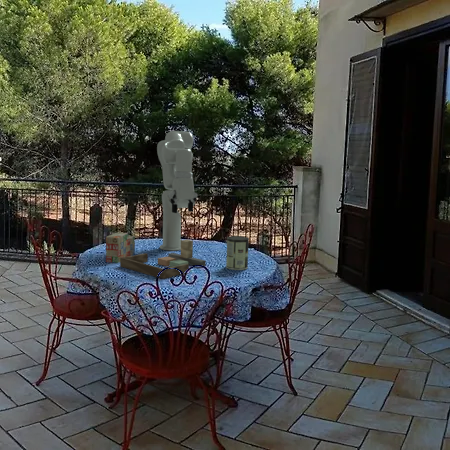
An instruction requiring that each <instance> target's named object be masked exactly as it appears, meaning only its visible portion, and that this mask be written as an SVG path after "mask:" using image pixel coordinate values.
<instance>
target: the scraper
mask: <svg viewBox="0 0 450 450" xmlns="http://www.w3.org/2000/svg"><path fill="white" fill-rule="evenodd" d="M193 249H194V241H193V240H191V239H181V250H180V254H179V253H176V252H170V253H168V254H167V255H168V256H167V257H171V258H175V259H176V260H178V259H179V260H184V261H188V264H189V266H190V265H191V266H193V265H203V266H205V267H206V266H207V265H206V262H207V260H204V259H201V258H200V259H199V258H197V257H196V258H195V257H193V254H194V251H193Z"/></svg>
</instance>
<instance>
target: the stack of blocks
mask: <svg viewBox="0 0 450 450" xmlns="http://www.w3.org/2000/svg"><path fill="white" fill-rule="evenodd" d="M135 238H136V237H135V235H129V233H128V232H114V233H112V234H110V235H107V236H106V237H105V262H106V263H113V262H115V263H114V264H120V258H123V257H128V256H134V255H135V254H136V253H135V252H136V241H135V240H136V239H135Z"/></svg>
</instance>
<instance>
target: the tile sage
mask: <svg viewBox="0 0 450 450" xmlns="http://www.w3.org/2000/svg"><path fill="white" fill-rule="evenodd" d="M183 264H188V261H184V260H179V259H178V260H174V261H170V266H169V267H174V266H178V265H183Z"/></svg>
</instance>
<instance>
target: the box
mask: <svg viewBox="0 0 450 450" xmlns="http://www.w3.org/2000/svg"><path fill="white" fill-rule="evenodd" d="M148 257H149V254H148V253H146V252H145V253H139V254H136V255H135V254H133V255H131V256H128V257H123V258H120V262H119V264H120V265H119V266H120V268H124V269H127V270H130V271H135V272H138V273H141V274H145V275H147V276H152V277H154V278H158V277H157V275H158V273H159V272H160V271H162V270H163V269H164V268H162V267H158V266H154V265H151V264H148V262H149V261H148V259H149V258H148ZM168 268H177V269H179V270H181V271H182V272H183V273H184V272H185V271H186V270H187V269H189V270H190V265H189V264H183V265H178V266H174V267H170V266H168ZM179 274H180V272H179V271H178V270H176V269H166V270H164V271H163V272H162V273H161V274H160V276H159V278H158V279H162V280H166V279H169V277H170V278H173V277H172V276H174V277H177V276H176V275H178V276H180V275H179Z"/></svg>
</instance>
